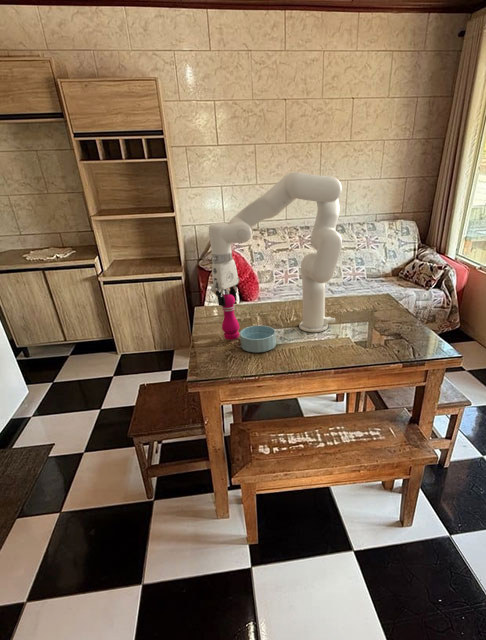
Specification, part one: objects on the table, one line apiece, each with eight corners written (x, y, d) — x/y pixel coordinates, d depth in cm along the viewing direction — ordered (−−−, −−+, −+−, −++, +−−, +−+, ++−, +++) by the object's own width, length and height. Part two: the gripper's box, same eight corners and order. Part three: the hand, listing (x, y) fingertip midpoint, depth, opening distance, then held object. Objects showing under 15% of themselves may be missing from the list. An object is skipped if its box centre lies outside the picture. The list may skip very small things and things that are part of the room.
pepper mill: (237, 340, 166) (232, 293, 156) (220, 340, 168) (214, 293, 158) (242, 333, 173) (237, 287, 163) (226, 333, 174) (220, 287, 164)
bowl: (273, 337, 171) (272, 323, 168) (278, 351, 159) (278, 337, 156) (239, 340, 169) (238, 327, 166) (242, 355, 157) (241, 341, 154)
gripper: (213, 264, 146) (219, 311, 155) (244, 253, 158) (248, 298, 167) (199, 262, 150) (205, 308, 159) (230, 251, 162) (235, 295, 171)
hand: (227, 302), depth 163 cm, fingers closed on pepper mill, 6 cm apart
